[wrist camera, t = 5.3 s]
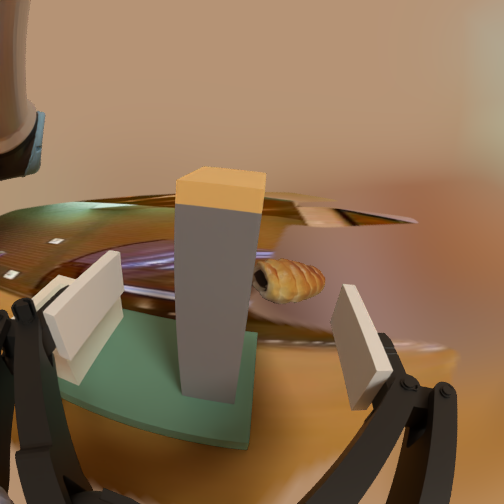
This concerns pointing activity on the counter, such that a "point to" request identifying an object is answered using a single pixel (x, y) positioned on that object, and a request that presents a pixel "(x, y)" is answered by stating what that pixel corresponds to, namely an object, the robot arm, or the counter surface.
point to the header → (93, 343)
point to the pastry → (287, 280)
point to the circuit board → (161, 386)
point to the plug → (214, 275)
